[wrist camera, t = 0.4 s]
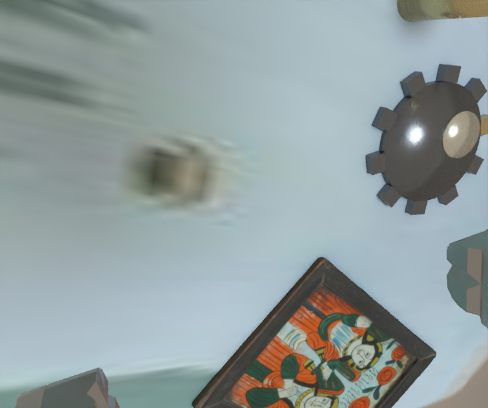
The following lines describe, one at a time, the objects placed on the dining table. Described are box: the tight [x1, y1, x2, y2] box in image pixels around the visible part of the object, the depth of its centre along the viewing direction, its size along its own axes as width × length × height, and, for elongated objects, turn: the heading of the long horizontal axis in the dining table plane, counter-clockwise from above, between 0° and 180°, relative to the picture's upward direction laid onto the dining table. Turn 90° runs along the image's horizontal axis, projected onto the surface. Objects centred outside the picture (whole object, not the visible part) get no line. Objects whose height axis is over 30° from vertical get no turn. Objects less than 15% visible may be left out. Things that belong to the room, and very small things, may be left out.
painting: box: [192, 257, 436, 408], centre depth 65 cm, size 28×35×2 cm
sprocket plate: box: [366, 64, 488, 215], centre depth 57 cm, size 20×20×1 cm
